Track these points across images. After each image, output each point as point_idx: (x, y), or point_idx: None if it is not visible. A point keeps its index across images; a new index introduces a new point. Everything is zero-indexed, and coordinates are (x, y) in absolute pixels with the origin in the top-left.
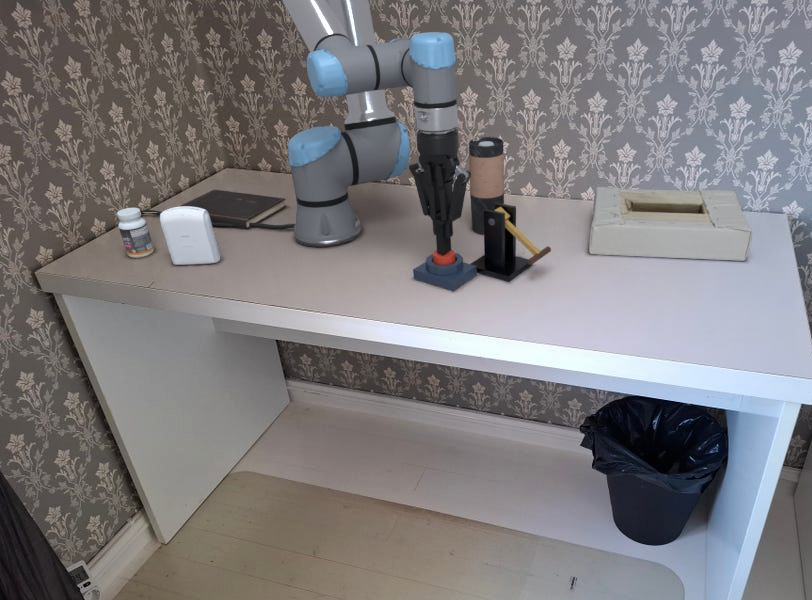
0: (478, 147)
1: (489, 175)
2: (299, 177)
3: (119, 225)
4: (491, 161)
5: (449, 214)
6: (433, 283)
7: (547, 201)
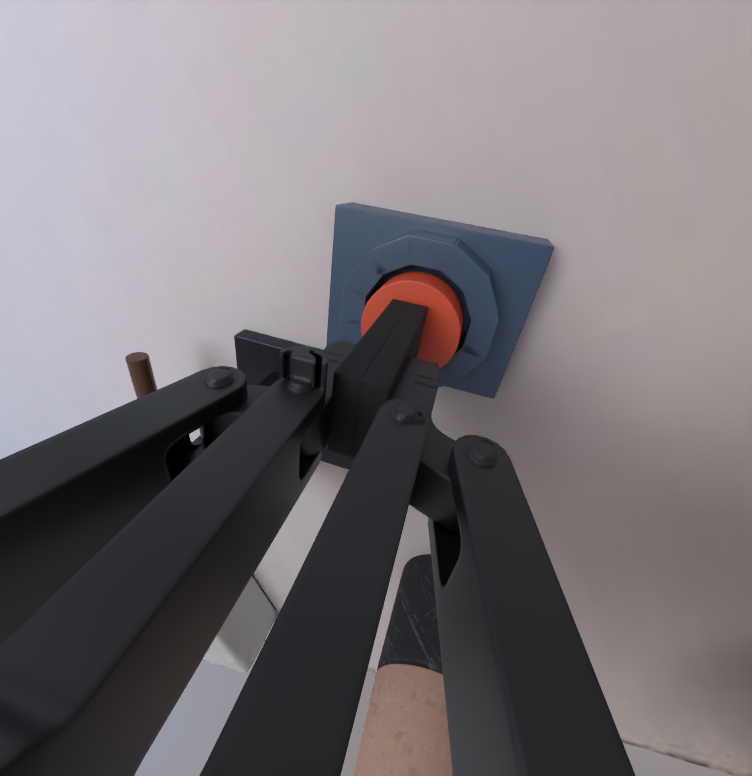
0: None
1: (378, 765)
2: None
3: None
4: None
5: (212, 400)
6: (442, 220)
7: (378, 661)
